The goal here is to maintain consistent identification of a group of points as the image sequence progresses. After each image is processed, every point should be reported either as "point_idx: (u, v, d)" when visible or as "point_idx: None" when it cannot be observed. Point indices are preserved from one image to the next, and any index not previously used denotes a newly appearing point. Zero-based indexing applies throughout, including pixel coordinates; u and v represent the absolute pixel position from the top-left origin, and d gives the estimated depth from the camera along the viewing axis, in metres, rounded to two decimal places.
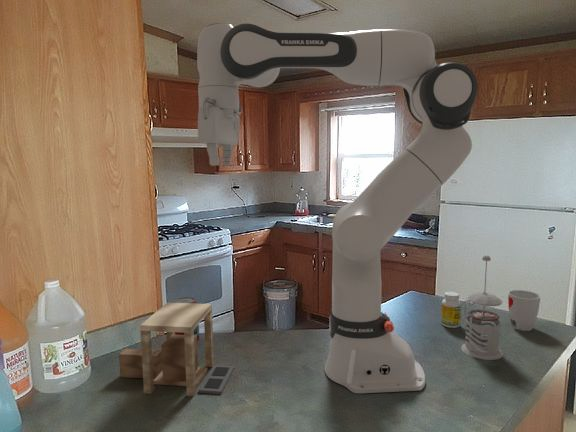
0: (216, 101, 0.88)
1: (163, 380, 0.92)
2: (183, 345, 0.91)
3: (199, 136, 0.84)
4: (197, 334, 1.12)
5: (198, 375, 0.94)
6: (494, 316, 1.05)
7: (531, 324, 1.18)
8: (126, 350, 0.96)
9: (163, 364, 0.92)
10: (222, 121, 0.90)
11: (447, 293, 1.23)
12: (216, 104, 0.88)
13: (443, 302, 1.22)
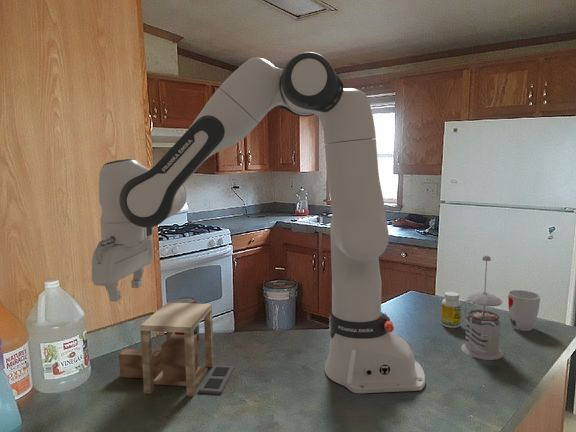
0: (115, 238, 0.88)
1: (163, 380, 0.92)
2: (183, 345, 0.91)
3: (93, 280, 0.83)
4: (197, 334, 1.12)
5: (198, 375, 0.94)
6: (494, 316, 1.05)
7: (531, 324, 1.18)
8: (126, 350, 0.96)
9: (163, 364, 0.92)
10: (123, 256, 0.89)
11: (447, 293, 1.23)
12: (115, 241, 0.88)
13: (443, 302, 1.22)
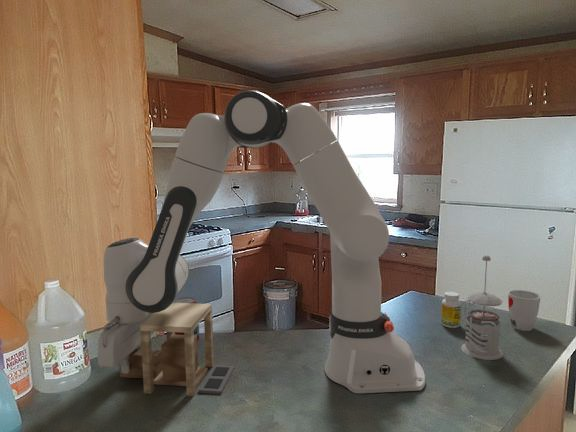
0: (120, 318, 0.90)
1: (163, 380, 0.92)
2: (183, 345, 0.91)
3: (99, 363, 0.86)
4: (197, 334, 1.12)
5: (198, 375, 0.94)
6: (494, 316, 1.05)
7: (531, 324, 1.18)
8: None
9: (163, 364, 0.92)
10: (128, 334, 0.91)
11: (447, 293, 1.23)
12: (120, 321, 0.90)
13: (443, 302, 1.22)
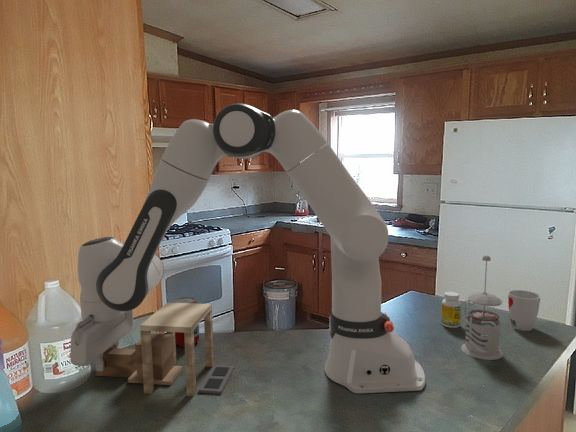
0: (94, 316, 0.91)
1: (137, 378, 0.93)
2: (157, 344, 0.92)
3: (71, 361, 0.86)
4: (197, 334, 1.12)
5: (172, 374, 0.95)
6: (494, 316, 1.05)
7: (531, 324, 1.18)
8: None
9: (137, 363, 0.92)
10: (102, 332, 0.92)
11: (447, 293, 1.23)
12: (94, 319, 0.91)
13: (443, 302, 1.22)
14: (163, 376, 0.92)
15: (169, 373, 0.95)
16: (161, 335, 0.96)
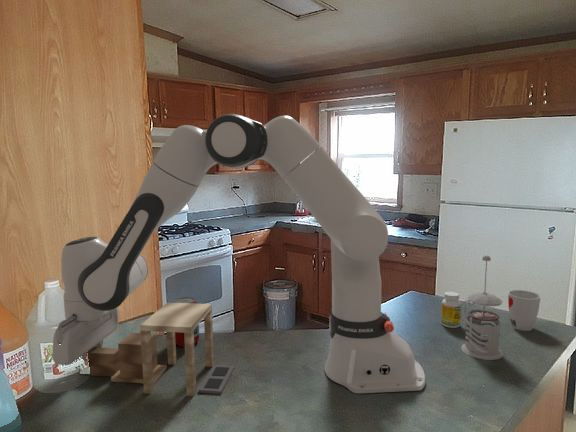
0: (77, 316, 0.91)
1: (120, 377, 0.93)
2: (140, 343, 0.92)
3: (54, 360, 0.87)
4: (197, 334, 1.12)
5: (156, 373, 0.95)
6: (494, 316, 1.05)
7: (531, 324, 1.18)
8: None
9: (120, 362, 0.93)
10: (85, 332, 0.93)
11: (447, 293, 1.23)
12: (77, 318, 0.91)
13: (443, 302, 1.22)
14: None
15: None
16: None
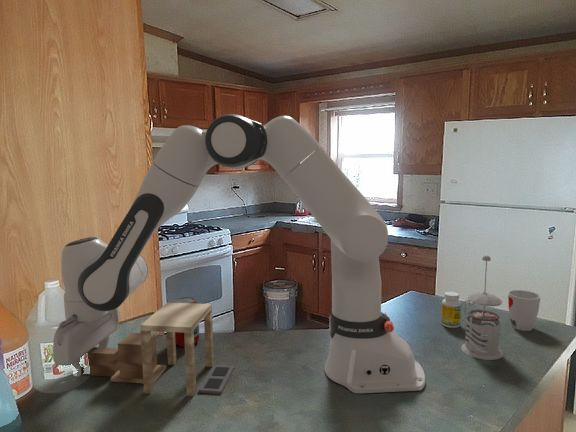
0: (77, 316, 0.91)
1: (120, 377, 0.93)
2: (139, 343, 0.92)
3: (54, 360, 0.87)
4: (197, 334, 1.12)
5: (155, 373, 0.95)
6: (494, 316, 1.05)
7: (531, 324, 1.18)
8: None
9: (120, 362, 0.93)
10: (85, 332, 0.93)
11: (447, 293, 1.23)
12: (77, 319, 0.91)
13: (443, 302, 1.22)
14: None
15: None
16: None
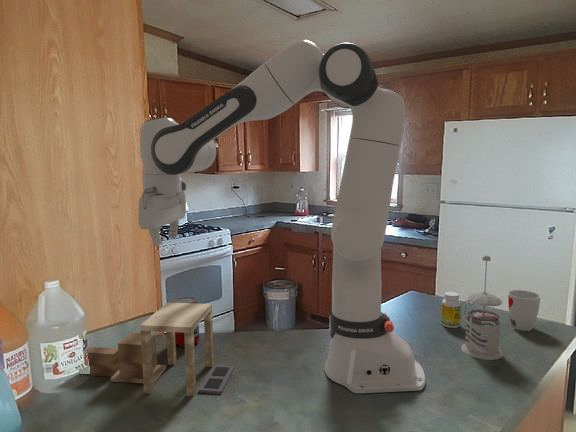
0: (157, 188, 0.97)
1: (120, 377, 0.93)
2: (139, 343, 0.92)
3: (140, 224, 0.93)
4: (197, 334, 1.12)
5: (155, 373, 0.95)
6: (494, 316, 1.05)
7: (531, 324, 1.18)
8: None
9: (120, 362, 0.93)
10: (163, 205, 0.99)
11: (447, 293, 1.23)
12: (157, 191, 0.98)
13: (443, 302, 1.22)
14: None
15: None
16: None
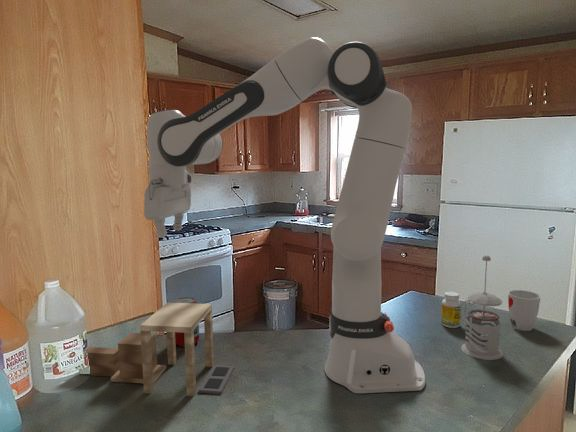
0: (163, 180, 0.98)
1: (120, 377, 0.93)
2: (139, 343, 0.92)
3: (145, 215, 0.94)
4: (197, 334, 1.12)
5: (155, 373, 0.95)
6: (494, 316, 1.05)
7: (531, 324, 1.18)
8: None
9: (120, 362, 0.93)
10: (169, 197, 1.00)
11: (447, 293, 1.23)
12: (163, 182, 0.98)
13: (443, 302, 1.22)
14: None
15: None
16: None
